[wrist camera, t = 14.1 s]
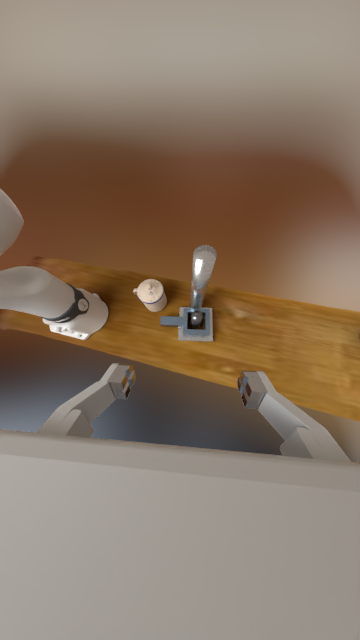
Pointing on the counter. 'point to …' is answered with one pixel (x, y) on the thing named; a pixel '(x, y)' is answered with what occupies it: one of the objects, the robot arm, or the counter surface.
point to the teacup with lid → (152, 295)
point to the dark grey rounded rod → (196, 319)
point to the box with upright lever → (196, 298)
